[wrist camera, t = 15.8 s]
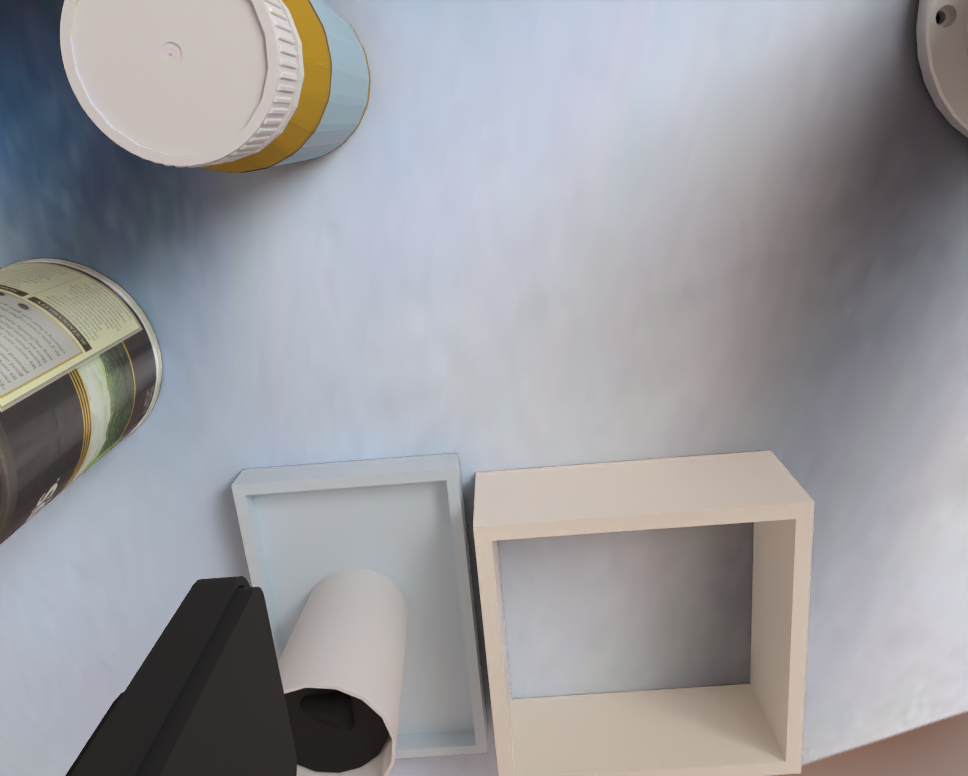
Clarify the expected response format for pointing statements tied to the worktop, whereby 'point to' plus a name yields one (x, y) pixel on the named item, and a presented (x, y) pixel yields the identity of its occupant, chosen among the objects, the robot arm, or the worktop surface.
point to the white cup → (346, 675)
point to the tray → (387, 551)
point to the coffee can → (66, 378)
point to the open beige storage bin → (666, 712)
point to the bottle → (217, 78)
